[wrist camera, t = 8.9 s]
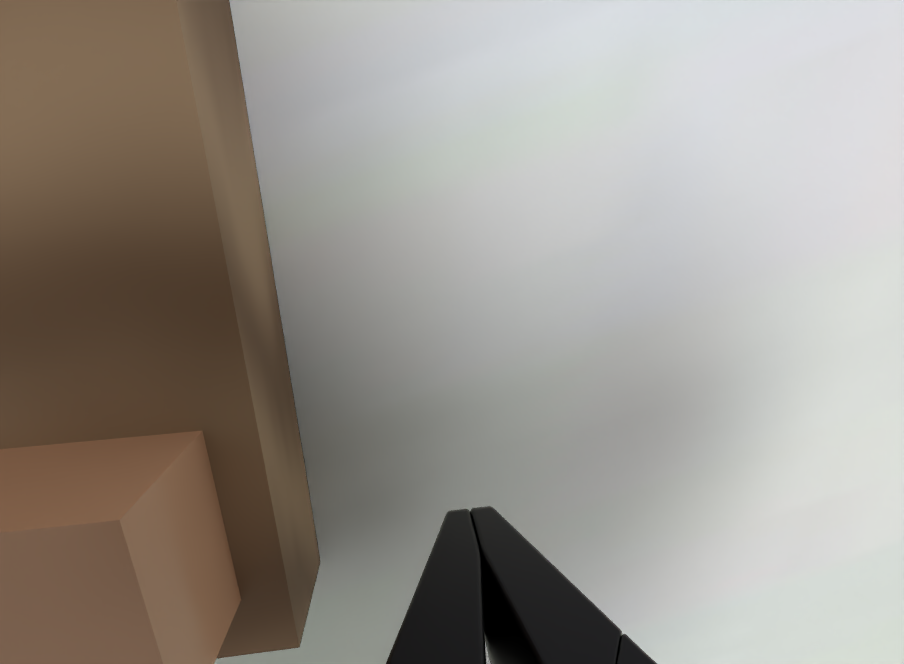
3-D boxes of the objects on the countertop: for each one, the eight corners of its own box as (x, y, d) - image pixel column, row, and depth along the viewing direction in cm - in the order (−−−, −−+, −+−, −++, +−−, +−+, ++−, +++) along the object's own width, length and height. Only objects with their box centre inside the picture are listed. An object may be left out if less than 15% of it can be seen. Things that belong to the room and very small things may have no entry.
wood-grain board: (320, 561, 12) (299, 647, 10) (11, 598, 12) (-92, 700, 9) (213, -97, 8) (132, -226, 6) (-272, -99, 8) (-588, -244, 5)
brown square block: (241, 600, 9) (184, 733, 7) (39, 624, 9) (-93, 774, 7) (202, 430, 8) (119, 519, 6) (-28, 451, 8) (-216, 555, 6)
